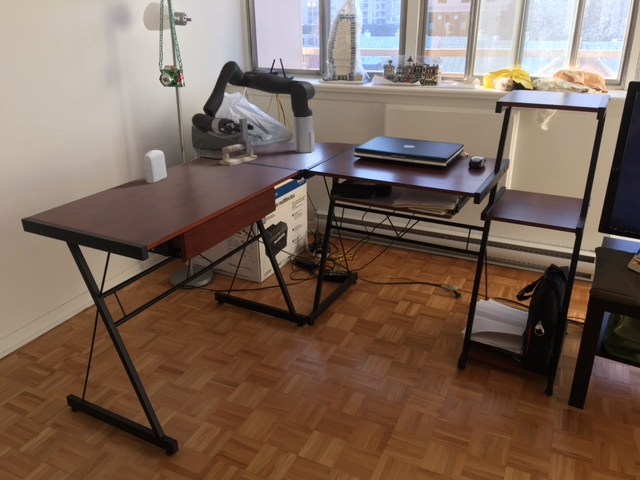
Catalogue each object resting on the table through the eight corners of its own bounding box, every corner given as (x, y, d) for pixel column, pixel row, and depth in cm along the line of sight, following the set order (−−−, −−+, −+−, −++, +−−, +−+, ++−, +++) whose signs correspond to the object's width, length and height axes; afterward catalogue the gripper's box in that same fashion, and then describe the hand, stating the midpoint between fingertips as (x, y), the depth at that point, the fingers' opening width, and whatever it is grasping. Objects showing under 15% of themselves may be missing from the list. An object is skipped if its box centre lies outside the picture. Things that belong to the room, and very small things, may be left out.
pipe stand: (247, 157, 262) (246, 140, 259) (257, 158, 258) (256, 141, 255) (219, 163, 250) (218, 146, 247) (230, 165, 246) (228, 148, 243)
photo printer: (153, 183, 219) (149, 153, 215) (145, 183, 220) (140, 152, 216) (168, 177, 228) (165, 148, 224) (160, 177, 229) (156, 147, 225)
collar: (243, 150, 259) (241, 117, 253) (252, 152, 255) (249, 118, 249) (238, 151, 256) (236, 118, 251) (247, 153, 253) (244, 119, 247)
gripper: (210, 120, 254) (234, 122, 244) (234, 116, 264) (257, 118, 254) (212, 136, 257) (235, 139, 247) (235, 131, 267) (258, 134, 257)
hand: (246, 128), depth 250 cm, fingers open, 7 cm apart
